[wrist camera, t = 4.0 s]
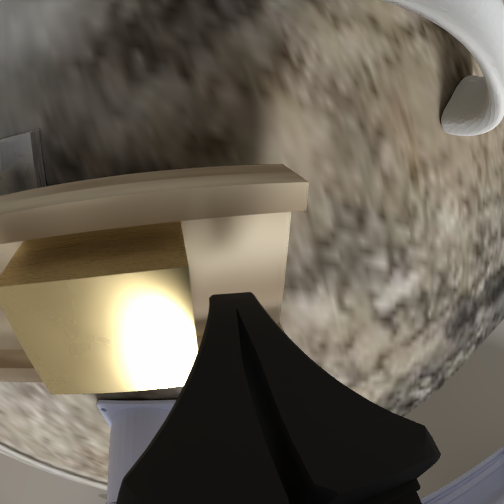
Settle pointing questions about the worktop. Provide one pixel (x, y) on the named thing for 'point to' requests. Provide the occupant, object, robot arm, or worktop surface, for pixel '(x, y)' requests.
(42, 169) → the stand
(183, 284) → the block
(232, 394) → the robot arm
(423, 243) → the worktop surface
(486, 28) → the spoon rest
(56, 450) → the worktop surface
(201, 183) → the beam
